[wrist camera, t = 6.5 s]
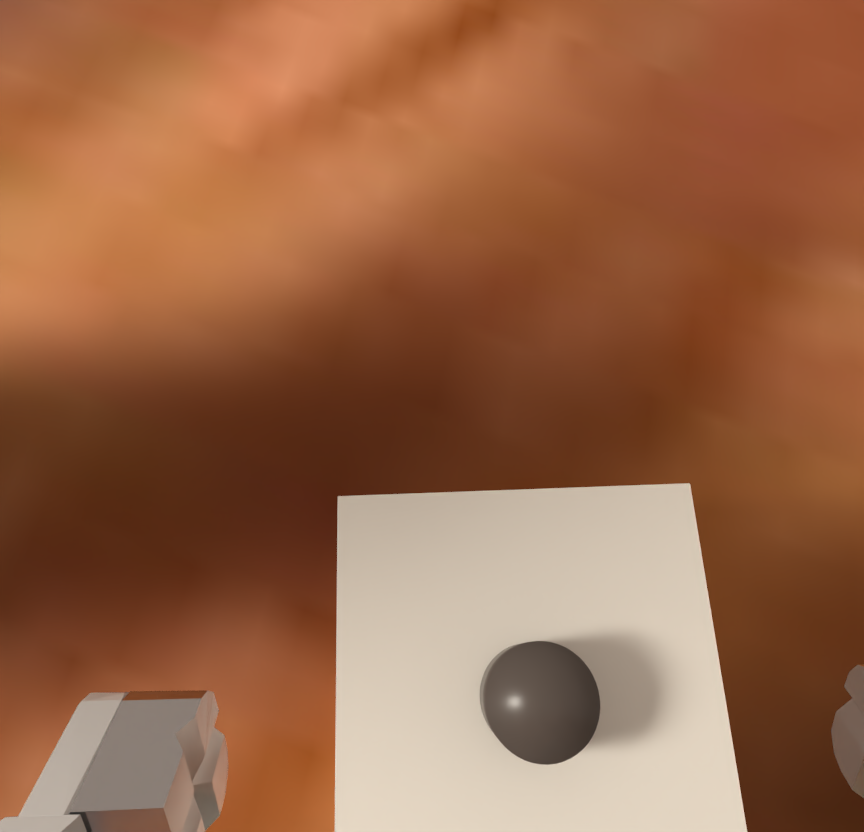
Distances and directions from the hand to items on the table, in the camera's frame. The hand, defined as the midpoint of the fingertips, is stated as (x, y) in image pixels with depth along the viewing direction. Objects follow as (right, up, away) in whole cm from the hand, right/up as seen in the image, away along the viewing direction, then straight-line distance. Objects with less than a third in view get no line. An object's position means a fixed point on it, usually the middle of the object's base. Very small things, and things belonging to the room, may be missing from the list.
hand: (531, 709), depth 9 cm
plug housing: (0, -2, +6) cm, 6 cm away
